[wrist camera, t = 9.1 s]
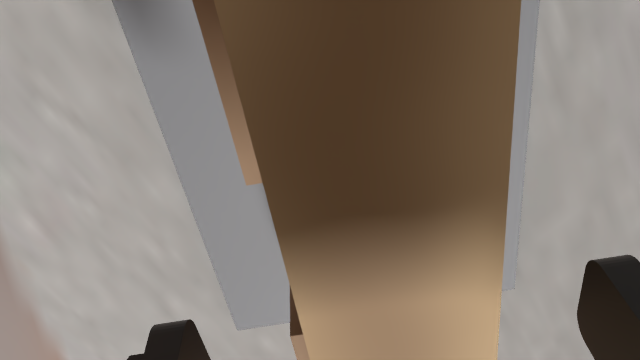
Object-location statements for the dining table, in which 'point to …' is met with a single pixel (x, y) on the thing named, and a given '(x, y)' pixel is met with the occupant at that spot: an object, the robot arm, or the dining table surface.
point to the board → (224, 167)
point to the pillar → (227, 88)
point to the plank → (384, 165)
